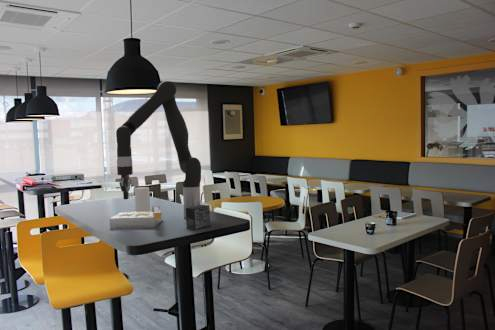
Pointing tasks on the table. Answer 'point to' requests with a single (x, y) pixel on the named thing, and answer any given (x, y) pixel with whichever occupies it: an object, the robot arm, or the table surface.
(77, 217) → the table surface
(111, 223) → the chassis
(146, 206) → the cup
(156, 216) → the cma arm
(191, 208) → the small box
